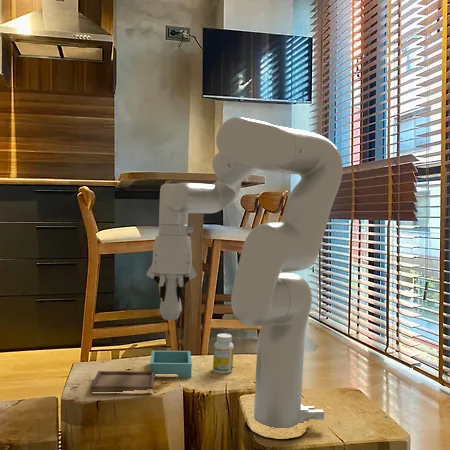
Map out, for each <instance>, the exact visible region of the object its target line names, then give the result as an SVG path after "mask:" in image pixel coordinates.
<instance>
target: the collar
mask: <svg viewBox="0 0 450 450" xmlns="http://www.w3.org/2000/svg"><path fill="white" fill-rule="evenodd" d="M150 354H151V355H150V361H149V371H155V374H177V375H178V377H177V378H192V364H193V363H192V355H191V351H190V350H151V353H150Z"/></svg>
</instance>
